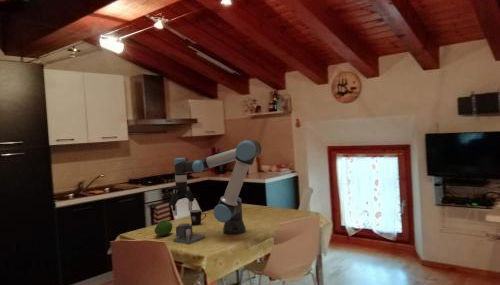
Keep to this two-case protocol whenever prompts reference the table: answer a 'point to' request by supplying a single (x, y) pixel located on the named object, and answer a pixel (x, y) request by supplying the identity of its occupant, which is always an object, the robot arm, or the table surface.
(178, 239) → the grey peg base
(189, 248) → the table surface
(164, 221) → the fruit
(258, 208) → the table surface
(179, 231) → the grey block
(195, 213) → the coffee mug
